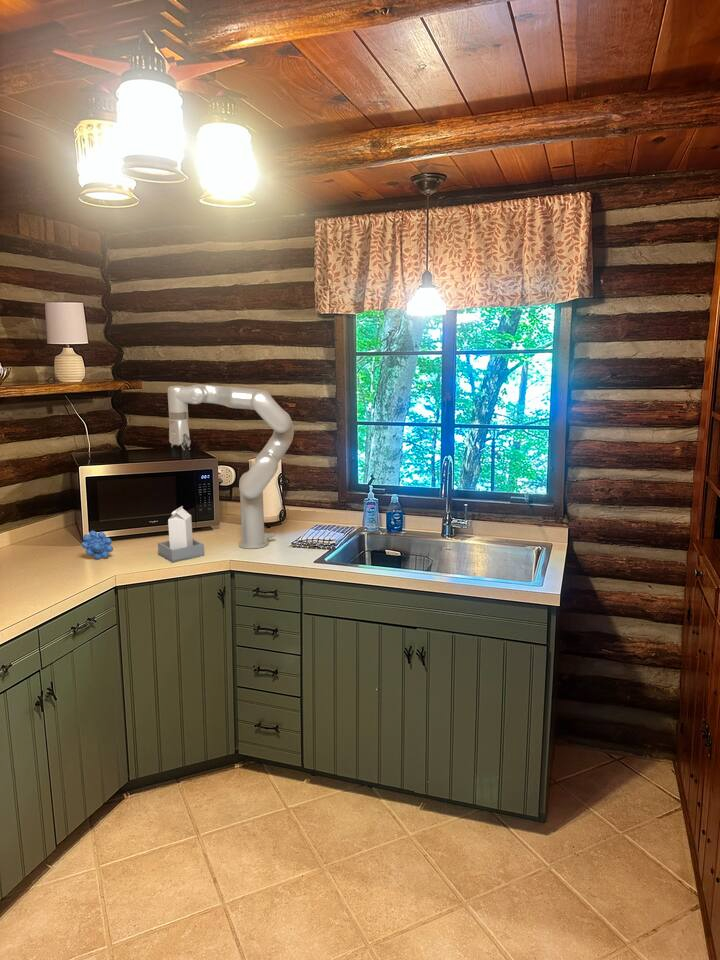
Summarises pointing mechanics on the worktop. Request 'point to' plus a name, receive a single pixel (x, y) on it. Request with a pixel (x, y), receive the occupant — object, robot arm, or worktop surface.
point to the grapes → (97, 544)
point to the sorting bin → (180, 551)
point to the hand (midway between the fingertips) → (181, 458)
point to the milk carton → (180, 529)
